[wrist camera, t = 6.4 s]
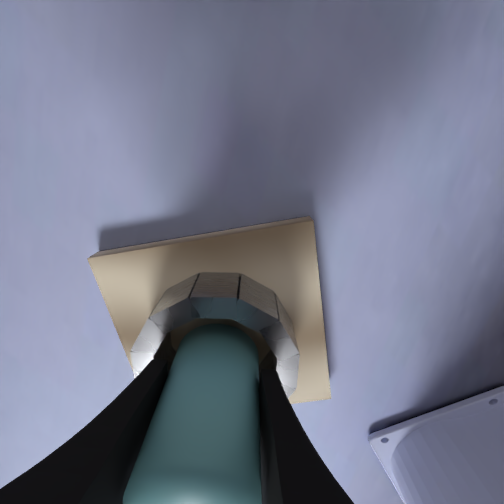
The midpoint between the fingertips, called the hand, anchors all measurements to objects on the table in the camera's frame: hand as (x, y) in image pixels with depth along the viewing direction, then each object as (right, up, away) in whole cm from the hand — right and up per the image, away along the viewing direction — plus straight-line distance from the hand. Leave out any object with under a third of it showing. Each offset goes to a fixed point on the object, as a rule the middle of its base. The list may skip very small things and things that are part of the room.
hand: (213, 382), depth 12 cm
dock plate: (0, +1, +4) cm, 4 cm away
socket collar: (0, +1, +4) cm, 4 cm away
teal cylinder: (0, 0, +2) cm, 2 cm away
